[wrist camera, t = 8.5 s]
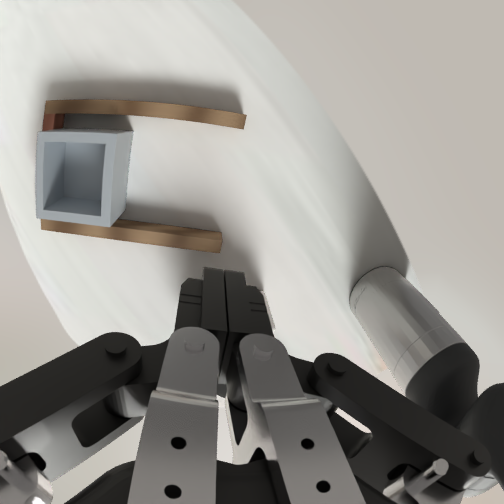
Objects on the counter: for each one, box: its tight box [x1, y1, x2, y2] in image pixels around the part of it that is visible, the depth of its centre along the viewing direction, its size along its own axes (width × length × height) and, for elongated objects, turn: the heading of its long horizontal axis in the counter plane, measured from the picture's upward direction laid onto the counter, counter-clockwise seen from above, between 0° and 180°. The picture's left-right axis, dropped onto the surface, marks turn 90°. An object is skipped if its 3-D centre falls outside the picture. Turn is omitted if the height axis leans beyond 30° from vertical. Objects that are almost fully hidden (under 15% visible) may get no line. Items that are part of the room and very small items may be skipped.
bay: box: [41, 100, 247, 253], centre depth 28 cm, size 22×15×2 cm
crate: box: [36, 128, 133, 227], centre depth 26 cm, size 9×9×6 cm
